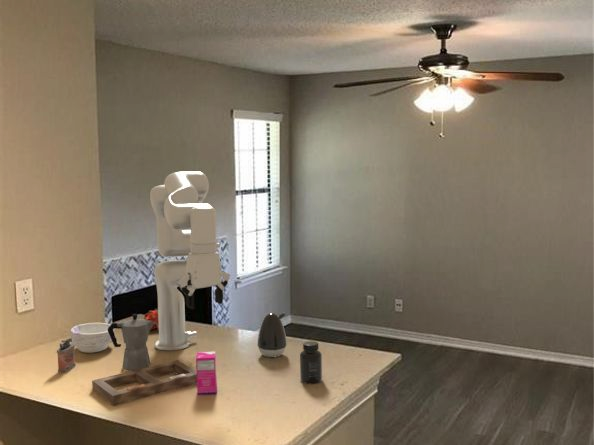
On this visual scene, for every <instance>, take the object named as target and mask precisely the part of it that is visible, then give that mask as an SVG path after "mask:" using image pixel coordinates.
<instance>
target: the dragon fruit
mask: <svg viewBox="0 0 594 445" xmlns="http://www.w3.org/2000/svg"><path fill="white" fill-rule="evenodd" d="M143 319H144V320H149V321H154V322H155V324H154V325H153V326H152V328H151V330H154V329H157V331H159V320H158V308H154V310H149V311H148V312H146V313H145V314H144V318H143ZM151 330H150V331H151Z"/></svg>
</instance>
